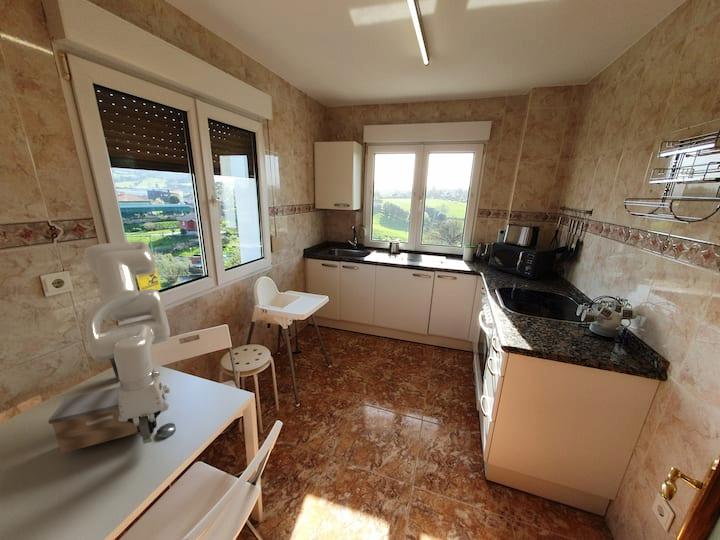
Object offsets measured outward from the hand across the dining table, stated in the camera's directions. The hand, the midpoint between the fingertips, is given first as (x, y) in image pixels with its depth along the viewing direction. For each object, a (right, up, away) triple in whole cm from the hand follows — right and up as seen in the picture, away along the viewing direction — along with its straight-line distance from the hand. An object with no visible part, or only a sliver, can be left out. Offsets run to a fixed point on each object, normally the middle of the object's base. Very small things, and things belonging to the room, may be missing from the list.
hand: (148, 430), depth 83 cm
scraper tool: (-1, -1, +3) cm, 3 cm away
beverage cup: (-36, +3, +34) cm, 50 cm away
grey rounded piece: (0, -5, +8) cm, 10 cm away
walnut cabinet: (-15, -5, +5) cm, 17 cm away
